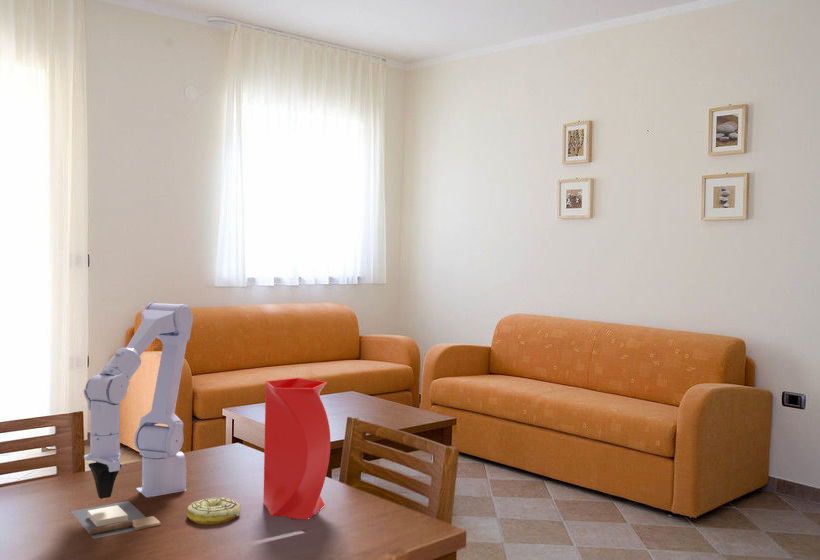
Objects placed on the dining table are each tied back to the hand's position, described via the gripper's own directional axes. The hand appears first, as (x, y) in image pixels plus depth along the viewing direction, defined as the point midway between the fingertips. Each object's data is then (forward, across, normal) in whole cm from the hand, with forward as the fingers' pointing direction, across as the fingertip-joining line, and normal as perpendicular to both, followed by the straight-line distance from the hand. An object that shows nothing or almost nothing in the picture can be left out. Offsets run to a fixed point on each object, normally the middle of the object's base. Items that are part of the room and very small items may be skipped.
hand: (104, 497), depth 154 cm
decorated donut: (+5, +12, +19) cm, 23 cm away
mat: (+5, +2, +1) cm, 5 cm away
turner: (+4, +9, +2) cm, 10 cm away
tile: (+3, -1, 0) cm, 3 cm away
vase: (+5, +16, +35) cm, 39 cm away
